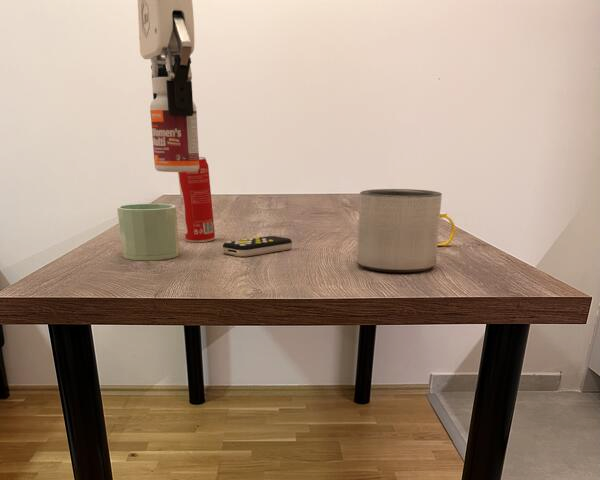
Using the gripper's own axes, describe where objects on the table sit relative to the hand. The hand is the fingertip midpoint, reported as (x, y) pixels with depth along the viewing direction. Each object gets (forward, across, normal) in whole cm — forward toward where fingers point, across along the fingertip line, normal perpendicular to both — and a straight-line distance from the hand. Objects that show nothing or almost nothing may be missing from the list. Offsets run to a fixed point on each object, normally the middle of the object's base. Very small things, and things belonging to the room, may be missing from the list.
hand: (173, 114), depth 86 cm
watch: (+21, -6, +51) cm, 55 cm away
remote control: (+22, -15, +18) cm, 32 cm away
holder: (+21, -18, 0) cm, 28 cm away
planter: (+21, +8, +32) cm, 40 cm away
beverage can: (+22, -31, +12) cm, 39 cm away
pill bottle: (+7, 0, 0) cm, 7 cm away
